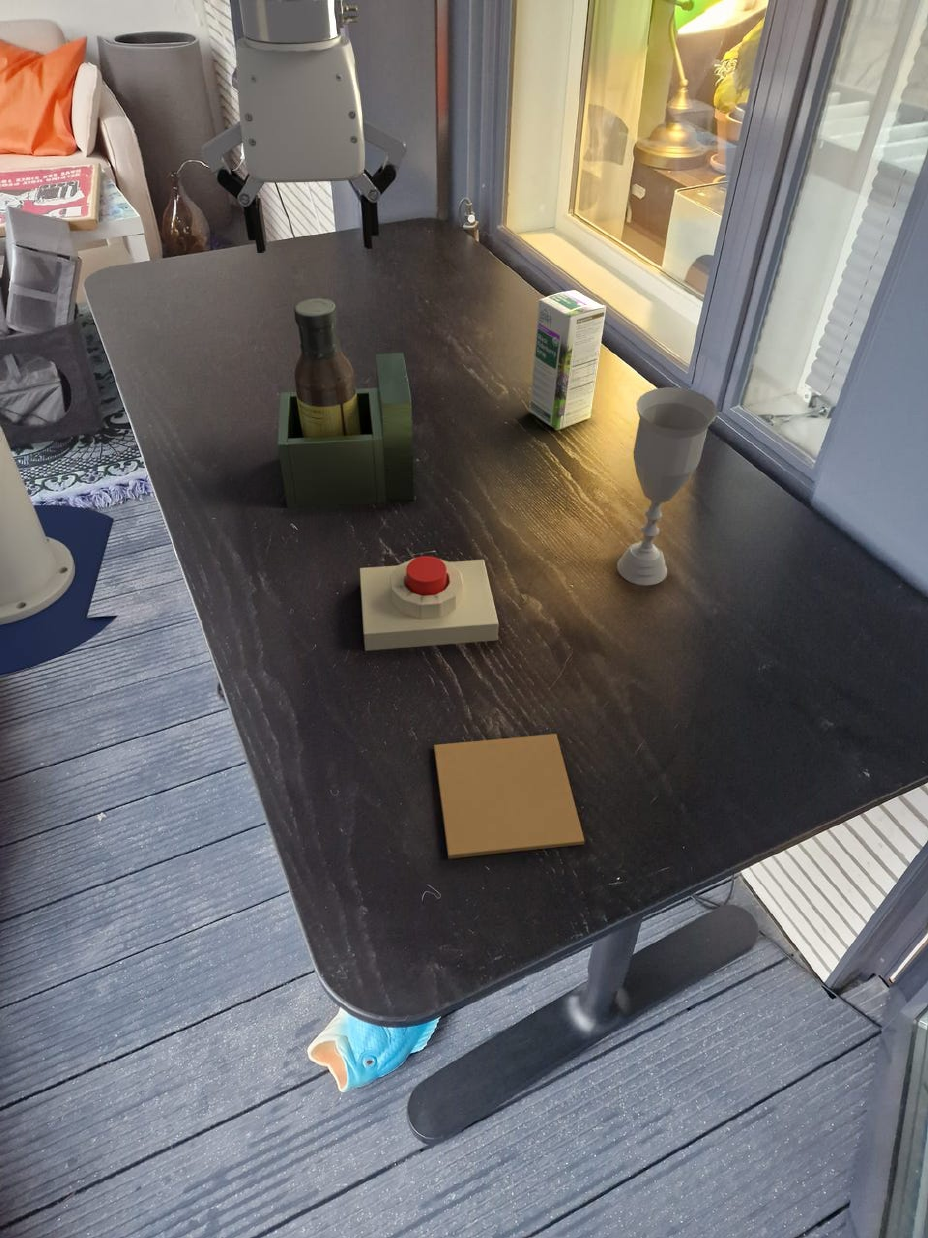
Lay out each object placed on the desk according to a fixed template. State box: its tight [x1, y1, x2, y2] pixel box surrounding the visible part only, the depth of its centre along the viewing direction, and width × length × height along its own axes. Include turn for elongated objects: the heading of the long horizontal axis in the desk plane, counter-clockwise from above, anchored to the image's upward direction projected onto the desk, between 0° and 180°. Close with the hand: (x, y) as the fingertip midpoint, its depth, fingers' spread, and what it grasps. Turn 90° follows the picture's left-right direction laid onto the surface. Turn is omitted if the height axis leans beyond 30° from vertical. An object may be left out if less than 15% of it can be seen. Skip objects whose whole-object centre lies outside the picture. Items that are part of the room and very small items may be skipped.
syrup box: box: [528, 289, 607, 431], centre depth 101 cm, size 6×6×14 cm
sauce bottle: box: [293, 297, 361, 438], centre depth 89 cm, size 6×6×20 cm
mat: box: [433, 733, 585, 859], centre depth 65 cm, size 10×10×1 cm
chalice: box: [616, 386, 718, 586], centre depth 79 cm, size 7×7×18 cm
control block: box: [359, 557, 499, 651], centre depth 78 cm, size 12×9×4 cm
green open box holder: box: [277, 352, 415, 509], centre depth 91 cm, size 14×11×12 cm
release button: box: [406, 555, 446, 596], centre depth 77 cm, size 4×4×2 cm
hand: (315, 245), depth 78 cm, fingers open, 9 cm apart
